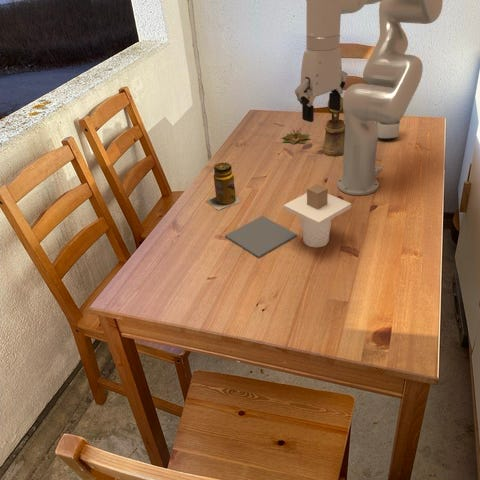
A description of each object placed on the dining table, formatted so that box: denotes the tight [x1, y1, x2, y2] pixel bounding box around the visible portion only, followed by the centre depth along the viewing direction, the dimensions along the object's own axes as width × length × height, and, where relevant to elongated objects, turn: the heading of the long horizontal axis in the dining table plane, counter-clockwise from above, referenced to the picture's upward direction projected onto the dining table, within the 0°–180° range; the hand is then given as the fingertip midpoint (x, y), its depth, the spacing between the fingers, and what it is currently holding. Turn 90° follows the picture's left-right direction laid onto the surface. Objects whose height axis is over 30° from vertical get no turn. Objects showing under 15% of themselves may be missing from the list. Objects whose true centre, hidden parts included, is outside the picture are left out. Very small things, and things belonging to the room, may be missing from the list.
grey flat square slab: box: [224, 215, 298, 259], centre depth 129 cm, size 14×14×1 cm
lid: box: [283, 183, 352, 227], centre depth 119 cm, size 12×12×6 cm
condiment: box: [205, 162, 242, 211], centre depth 144 cm, size 7×8×12 cm
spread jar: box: [374, 120, 401, 142], centre depth 175 cm, size 12×11×12 cm
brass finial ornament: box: [321, 96, 345, 157], centre depth 168 cm, size 9×14×18 cm, turn 170°
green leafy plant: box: [282, 128, 311, 145], centre depth 182 cm, size 12×12×5 cm
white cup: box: [300, 218, 332, 248], centre depth 123 cm, size 8×8×10 cm
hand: (321, 115), depth 118 cm, fingers open, 9 cm apart
